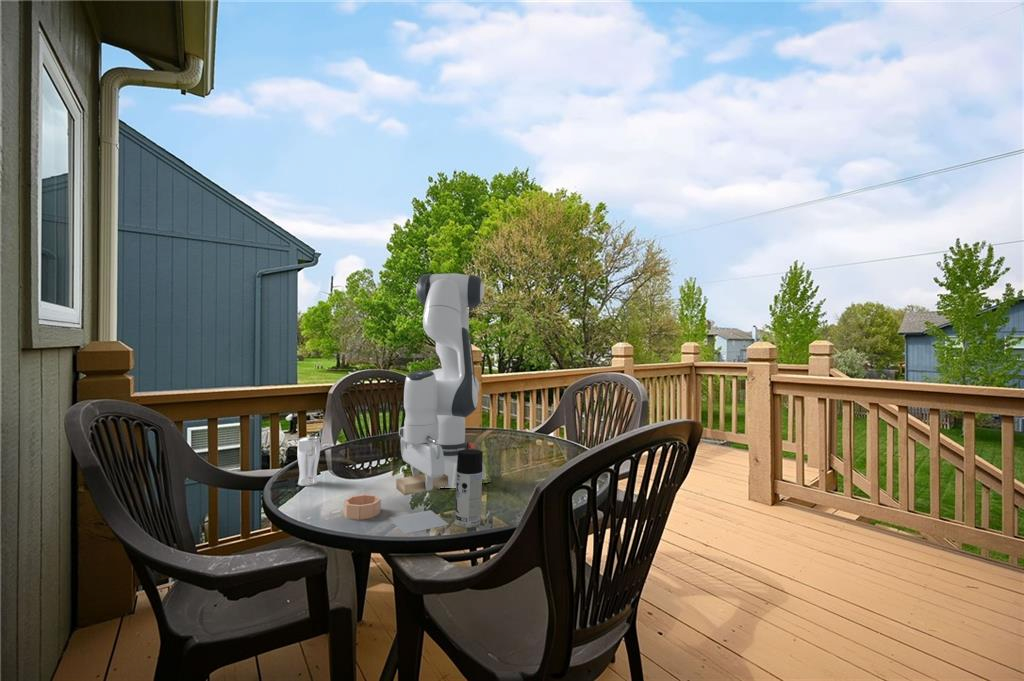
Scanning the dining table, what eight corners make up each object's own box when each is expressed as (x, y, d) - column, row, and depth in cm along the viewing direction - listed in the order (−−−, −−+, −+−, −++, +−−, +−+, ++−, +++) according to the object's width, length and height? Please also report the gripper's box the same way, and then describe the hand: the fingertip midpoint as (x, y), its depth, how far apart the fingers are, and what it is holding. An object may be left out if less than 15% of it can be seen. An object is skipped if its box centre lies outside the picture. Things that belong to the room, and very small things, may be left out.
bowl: (373, 510, 134) (374, 492, 134) (383, 520, 127) (383, 502, 127) (340, 516, 129) (341, 497, 129) (349, 527, 122) (349, 507, 122)
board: (438, 480, 130) (438, 470, 130) (448, 486, 125) (448, 476, 125) (396, 488, 123) (396, 478, 123) (404, 495, 118) (404, 485, 118)
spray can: (455, 523, 126) (457, 448, 126) (480, 522, 127) (482, 448, 127) (454, 533, 120) (456, 454, 120) (481, 533, 120) (483, 454, 120)
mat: (430, 515, 131) (430, 510, 131) (449, 530, 121) (449, 524, 121) (388, 523, 125) (388, 517, 125) (404, 540, 115) (404, 533, 115)
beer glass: (323, 480, 161) (324, 437, 161) (312, 487, 154) (313, 441, 154) (303, 479, 162) (304, 436, 162) (292, 486, 155) (293, 440, 155)
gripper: (450, 439, 116) (451, 494, 117) (417, 425, 133) (418, 473, 134) (426, 442, 113) (427, 499, 113) (396, 428, 130) (397, 477, 130)
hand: (422, 485), depth 124 cm, fingers closed on board, 6 cm apart
